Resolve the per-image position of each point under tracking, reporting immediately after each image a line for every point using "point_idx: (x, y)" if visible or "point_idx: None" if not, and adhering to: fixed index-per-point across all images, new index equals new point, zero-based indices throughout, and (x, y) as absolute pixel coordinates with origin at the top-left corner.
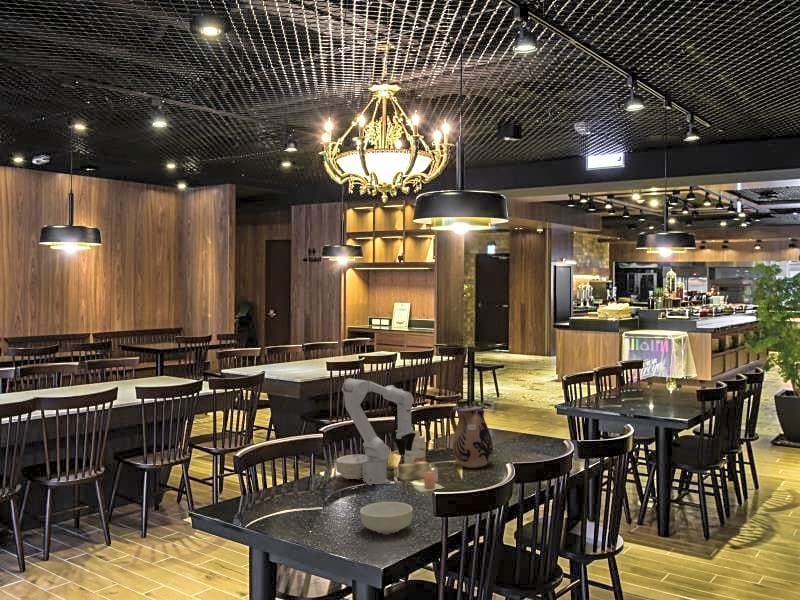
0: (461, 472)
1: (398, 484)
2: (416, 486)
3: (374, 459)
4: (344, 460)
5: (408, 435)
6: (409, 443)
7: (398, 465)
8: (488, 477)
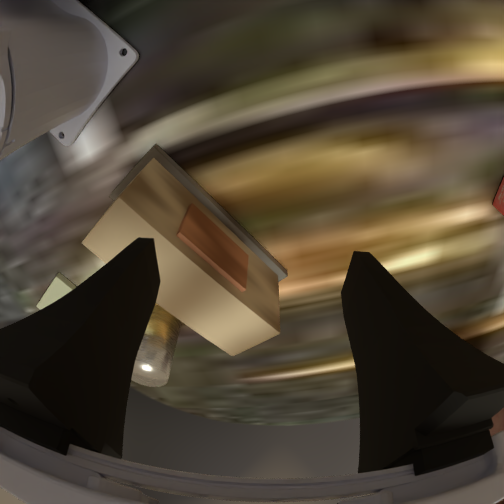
0: (342, 366)
1: (67, 195)
2: (64, 284)
3: None
4: None
5: (391, 440)
6: (365, 347)
7: (119, 196)
8: (283, 414)
